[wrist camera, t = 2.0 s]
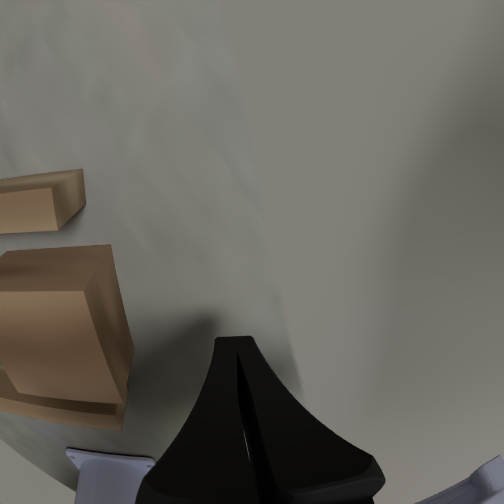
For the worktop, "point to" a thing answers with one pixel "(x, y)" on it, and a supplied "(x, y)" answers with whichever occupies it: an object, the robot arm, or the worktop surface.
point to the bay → (49, 219)
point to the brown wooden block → (64, 324)
